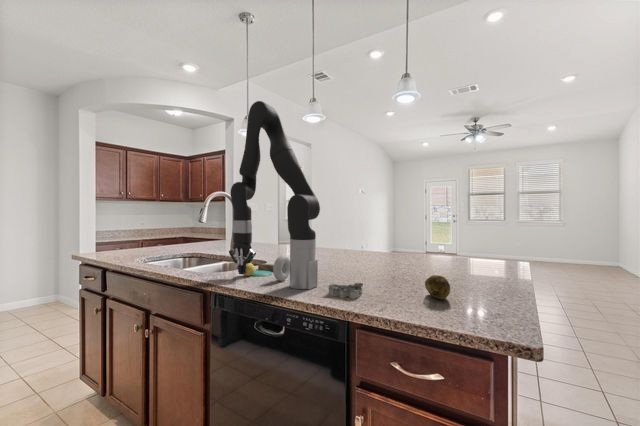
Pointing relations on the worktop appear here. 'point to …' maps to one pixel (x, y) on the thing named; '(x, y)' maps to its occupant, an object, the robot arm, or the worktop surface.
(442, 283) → the dark green oval lump
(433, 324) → the worktop surface
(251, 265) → the ball
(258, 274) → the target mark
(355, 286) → the egg carton
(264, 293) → the worktop surface
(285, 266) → the donut
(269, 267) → the stopper strip
